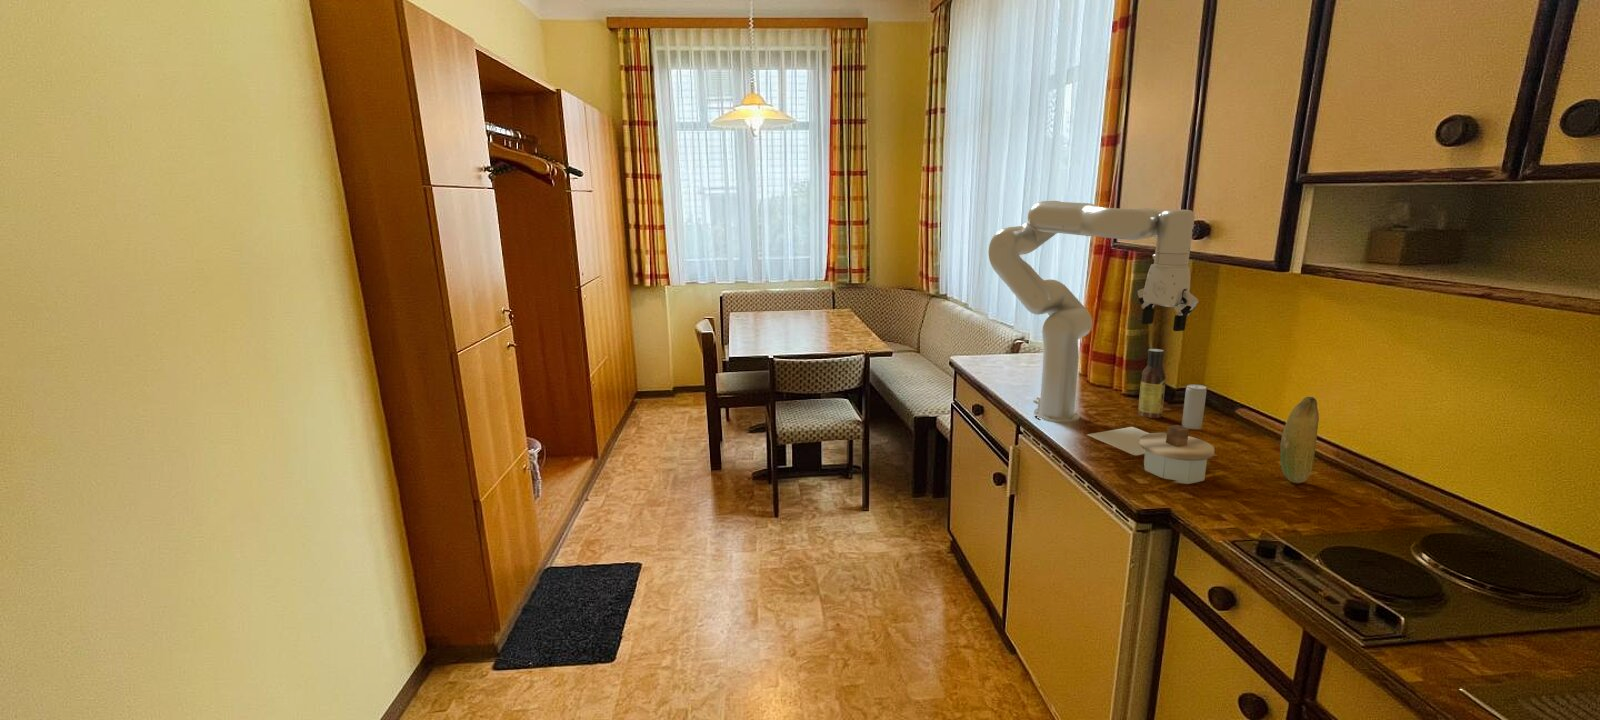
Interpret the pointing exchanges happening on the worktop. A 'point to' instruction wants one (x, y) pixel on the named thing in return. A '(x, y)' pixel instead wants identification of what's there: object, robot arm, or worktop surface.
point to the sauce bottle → (1152, 386)
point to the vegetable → (1300, 441)
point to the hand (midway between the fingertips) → (1162, 327)
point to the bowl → (1175, 468)
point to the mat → (1123, 439)
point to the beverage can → (1194, 406)
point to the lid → (1177, 445)
